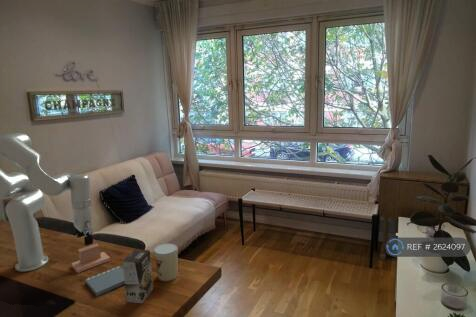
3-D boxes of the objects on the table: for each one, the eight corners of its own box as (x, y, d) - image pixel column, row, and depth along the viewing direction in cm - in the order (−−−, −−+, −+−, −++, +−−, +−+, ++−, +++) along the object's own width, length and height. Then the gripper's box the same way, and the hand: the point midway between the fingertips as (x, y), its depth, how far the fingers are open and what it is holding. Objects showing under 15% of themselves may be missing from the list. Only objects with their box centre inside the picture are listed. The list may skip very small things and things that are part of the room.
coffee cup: (154, 272, 136) (151, 246, 133) (176, 267, 139) (174, 241, 137) (158, 284, 128) (155, 256, 125) (182, 278, 131) (179, 250, 128)
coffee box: (142, 303, 116) (138, 262, 113) (126, 302, 118) (121, 261, 114) (154, 288, 125) (150, 249, 122) (138, 287, 126) (134, 248, 123)
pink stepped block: (71, 266, 143) (69, 250, 141) (104, 254, 152) (102, 239, 150) (77, 273, 138) (74, 256, 136) (110, 260, 147) (108, 245, 145)
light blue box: (85, 283, 130) (85, 279, 130) (120, 269, 139) (119, 265, 139) (96, 296, 121) (96, 292, 121) (132, 280, 131) (132, 276, 130)
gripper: (65, 199, 143) (69, 236, 147) (79, 211, 130) (82, 250, 134) (83, 196, 148) (87, 231, 152) (98, 206, 135) (101, 244, 139)
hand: (85, 240), depth 143 cm, fingers open, 9 cm apart
